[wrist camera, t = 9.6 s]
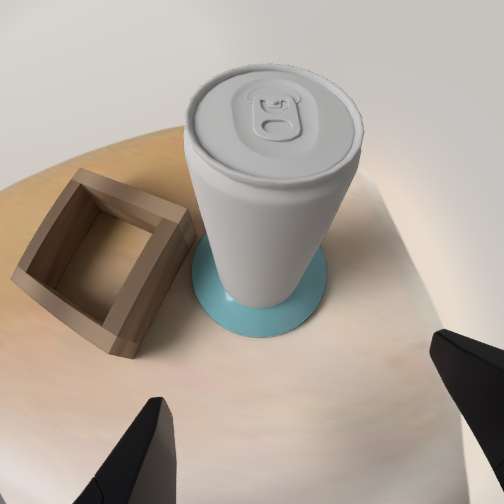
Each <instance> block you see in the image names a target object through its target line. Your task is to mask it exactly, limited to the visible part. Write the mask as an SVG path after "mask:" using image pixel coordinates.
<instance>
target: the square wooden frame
mask: <svg viewBox="0 0 504 504" xmlns="http://www.w3.org/2000/svg"><path fill="white" fill-rule="evenodd" d="M100 211H104V212H106V213H108V214H110V215H112V216H115V217H117V218H119V219H121V220H123V221H126V222H128V223H130V224H132V225H134V226H137V227H139V228H141V229H143V230H146V231H148V232H150V233H152V236H151V237H150V239H149V241H148V242H147V244H146V246H145V247H144V249H143V251H142V253H141V254H140V256H139V258H138V260H137V261H136V263H135V265H134V267H133V268H132V270H131V272H130V274H129V276H128V277H127V279H126V281H125V283H124V285H123V287H122V288H121V290H120V292H119V294H118V296H117V298H116V300H115V302H114V303H113V305H112V307H111V309H110V311H109V313H108V315H107V317H106V319H105V321H104V323H103V322H101V321H100V320H98V319H97V318H95V317H94V316H92V315H91V314H89V313H88V312H86V311H85V310H83V309H82V308H80V307H79V306H77V305H76V304H74V303H73V302H71V301H70V300H68V299H67V298H66V297H64V296H63V295H61V294H60V293H58V292H57V291H56V290H54V289H55V288H56V286H57V284H58V282H59V280H60V278H61V276H62V274H63V273H64V271H65V269H66V267H67V265H68V264H69V262H70V260H71V258H72V257H73V255H74V253H75V251H76V250H77V248H78V246H79V245H80V243H81V241H82V240H83V238H84V236H85V235H86V233H87V231H88V230H89V228H90V227H91V225H92V223H93V222H94V220H95V219H96V217H97V216H98V214H99V213H100ZM196 238H197V235H196V232H195V229H194V226H193V223H192V220H191V218H190V215H189V212H188V209H187V208H185V207H182V206H180V205H177V204H175V203H172V202H170V201H167V200H164V199H162V198H159V197H157V196H154V195H151V194H149V193H146V192H144V191H141V190H138V189H136V188H133V187H131V186H128V185H125V184H123V183H120V182H117V181H115V180H112V179H110V178H107V177H104V176H102V175H99V174H96V173H94V172H91V171H88V170H86V169H83V168H79V169H78V171H77V172H76V173H75V175H74V176H73V177H72V179H71V180H70V182H69V183H68V184H67V186H66V187H65V189H64V190H63V191H62V193H61V194H60V196H59V197H58V199H57V200H56V202H55V203H54V205H53V206H52V208H51V209H50V211H49V212H48V214H47V215H46V217H45V219H44V220H43V222H42V223H41V225H40V227H39V228H38V230H37V231H36V233H35V235H34V237H33V238H32V240H31V242H30V243H29V245H28V247H27V249H26V250H25V252H24V254H23V256H22V258H21V259H20V261H19V263H18V265H17V267H16V269H15V271H14V273H13V275H12V277H11V279H10V280H11V281H12V282H13V283H15V284H16V285H17V286H18V287H19V288H20V289H22V290H23V291H24V292H25V293H26V294H27V295H29V296H30V297H31V298H32V299H33V300H35V301H36V302H37V303H38V304H40V305H41V306H42V307H43V308H45V309H46V310H47V311H48V312H50V313H51V314H52V315H54V316H55V317H56V318H57V319H59V320H60V321H61V322H63V323H64V324H65V325H67V326H68V327H70V328H71V329H72V330H74V331H75V332H77V333H78V334H79V335H81V336H82V337H84V338H85V339H87V340H88V341H89V342H91V343H92V344H94V345H95V346H97V347H98V348H100V349H101V350H103V351H104V352H106V353H107V354H110V355H115V356H119V357H124V358H129V359H133V358H134V356H135V354H136V352H137V350H138V348H139V346H140V344H141V342H142V340H143V338H144V336H145V334H146V332H147V330H148V328H149V326H150V324H151V322H152V320H153V318H154V316H155V314H156V312H157V310H158V308H159V306H160V304H161V303H162V301H163V299H164V297H165V295H166V293H167V291H168V289H169V287H170V285H171V283H172V282H173V280H174V278H175V276H176V274H177V272H178V270H179V269H180V267H181V265H182V263H183V261H184V259H185V258H186V256H187V254H188V252H189V250H190V248H191V247H192V245H193V243H194V241H195V239H196Z"/></svg>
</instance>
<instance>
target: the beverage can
mask: <svg viewBox="0 0 504 504" xmlns="http://www.w3.org/2000/svg"><path fill="white" fill-rule="evenodd" d="M184 116H185V117H184V118H185V131H184V151H185V156H186V160H187V164H188V168H189V172H190V176H191V180H192V184H193V187H194V191H195V195H196V198H197V202H198V205H199V209H200V212H201V215H202V219H203V222H204V225H205V229H206V232H207V235H208V239H209V242H210V246H211V249H212V253H213V257H214V260H215V264H216V267H217V271H218V275H219V278H220V280H221V282H222V285H223V287H224V289H225V290H226V291H227V293H228V294H229V295H230V297H231V298H233V299H234V300H235V301H237V302H238V303H239V304H241V305H244V306H247V307H249V308H256V309H264V308H270V307H274V306H276V305H278V304H280V303H282V302H283V301H285V300H286V299H287V298H288V297H289V296H290V295H291V294H292V292H293V291H294V290H295V288H296V287H297V285H298V283H299V281H300V279H301V277H302V276H303V274H304V272H305V270H306V268H307V267H308V265H309V263H310V262H311V260H312V258H313V256H314V255H315V253H316V251H317V250H318V248H319V246H320V244H321V242H322V240H323V238H324V236H325V234H326V233H327V231H328V229H329V227H330V225H331V223H332V221H333V219H334V217H335V215H336V213H337V211H338V209H339V206H340V204H341V202H342V200H343V198H344V196H345V194H346V192H347V190H348V188H349V186H350V184H351V182H352V180H353V177H354V175H355V173H356V171H357V168H358V164H359V158H360V154H361V145H362V140H363V135H364V127H363V122H362V116H361V114H360V112H359V111H358V109H357V107H356V105H355V103H354V101H353V100H352V99H351V98H350V97H349V96H348V95H347V94H346V93H345V92H344V91H343V90H342V89H341V88H340V87H338V86H337V85H335V84H334V83H332V82H331V81H329V80H328V79H326V78H324V77H322V76H320V75H318V74H315V73H313V72H311V71H308V70H305V69H301V68H297V67H293V66H289V65H279V64H255V65H247V66H242V67H238V68H234V69H230V70H228V71H226V72H223V73H221V74H219V75H216V76H214V77H213V78H212V79H210V80H209V81H207V82H206V83H204V84H203V85H202V86H200V87H199V89H198V90H197V91H196V92H195V93H194V95H193V96H192V97H191V99H190V100H189V103H188V106H187V108H186V111H185V114H184Z"/></svg>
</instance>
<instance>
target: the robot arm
mask: <svg viewBox="0 0 504 504" xmlns="http://www.w3.org/2000/svg"><path fill="white" fill-rule="evenodd" d="M429 353H430V357H431V359H432V361H433V363H434V365H435V367H436V369H437V371H438V373H439V375H440V377H441V379H442V381H443V383H444V385H445V387H446V389H447V390H448V392H449V394H450V395H451V397H452V399H453V400H454V402H455V403H456V405H457V407H458V408H459V410H460V412H461V413H462V415H463V417H464V418H465V420H466V422H467V424H468V425H469V427H470V429H471V430H472V432H473V434H474V436H475V437H476V439H477V441H478V443H479V445H480V446H481V448H482V450H483V452H484V454H485V456H486V458H487V459H488V461H489V463H490V465H491V467H492V469H493V471H494V473H495V475H496V477H497V479H498V481H499V483H500V485H501V487H502V489H503V491H504V350H502V349H499V348H496V347H493V346H490V345H487V344H485V343H482V342H479V341H477V340H474V339H471V338H468V337H466V336H463V335H460V334H457V333H455V332H452V331H449V330H446V329H441V330H439V331H436V332H435V333H434V334H433V337H432V342H431V346H430V350H429ZM176 470H177V460H176V449H175V438H174V426H173V417H172V413H171V411H170V409H169V407H168V405H167V403H166V401H165V399H164V398H163V397H153V398H150V399H149V400H148V401H147V403H146V404H145V406H144V407H143V408H142V410H141V411H140V413H139V414H138V415H137V417H136V418H135V420H134V421H133V422H132V424H131V425H130V427H129V428H128V429H127V431H126V432H125V434H124V435H123V436H122V438H121V439H120V440H119V442H118V443H117V445H116V446H115V447H114V449H113V450H112V452H111V453H110V454H109V456H108V457H107V459H106V460H105V461H104V463H103V464H102V466H101V467H100V468H99V470H98V471H97V473H96V474H95V477H93V478H92V479H91V481H90V482H89V484H88V485H87V486H86V488H85V489H84V490H83V491H82V493H81V494H80V495H79V497H78V498H77V499H76V500H75V501H74V502H73V503H72V504H176Z"/></svg>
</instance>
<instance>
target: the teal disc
mask: <svg viewBox="0 0 504 504" xmlns="http://www.w3.org/2000/svg"><path fill="white" fill-rule="evenodd" d="M326 279H327V268H326V261H325V257H324V254H323V251H322V249H321V246H319V248H318V250H317V251H316V253H315V255H314V256H313V258H312V260H311V262H310V263H309V265H308V267H307V268H306V270H305V272H304V274H303V276H302V277H301V279H300V281H299V283H298V285H297V287H296V288H295V290H294V291H293V292H292V294H291V295H290V296H289V297H288V298H287V299H286V300H285V301H283V302H282V303H280V304H278V305H276V306H274V307H270V308H264V309H256V308H249V307H247V306H244V305H241V304H239V303H238V302H237V301H235V300H234V299H233V298H231V297H230V295H229V294H228V293H227V291H226V290H225V289H224V287H223V285H222V282H221V280H220V278H219V275H218V271H217V267H216V264H215V260H214V257H213V253H212V249H211V246H210V242H209V239H208V235H207V233H206V234H205V235H204V236H203V238H202V239H201V241H200V242H199V244H198V246H197V249H196V251H195V254H194V257H193V262H192V283H193V287H194V291H195V293H196V296H197V298H198V300H199V302H200V304H201V306H202V307H203V309H204V310H205V311H206V313H207V314H208V315H209V316H210V317H211V318H212V319H213V320H214V321H215V322H216V323H217V324H219V325H220V326H222V327H223V328H225V329H227V330H229V331H231V332H233V333H236V334H238V335H242V336H246V337H254V338H267V337H273V336H277V335H281V334H284V333H286V332H288V331H290V330H292V329H294V328H296V327H297V326H299V325H300V324H301V323H303V322H304V321H305V320H306V319H307V318H308V317H309V316H310V315H311V314H312V312H313V311H314V310H315V309H316V307H317V306H318V304H319V302H320V300H321V298H322V296H323V293H324V290H325V286H326Z"/></svg>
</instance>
